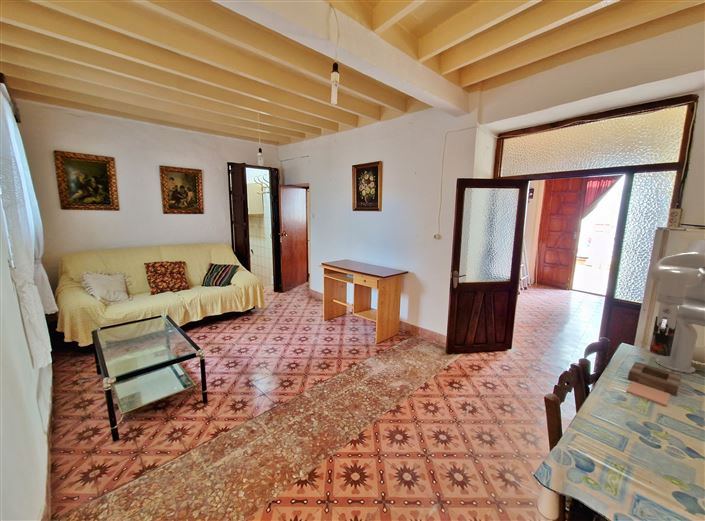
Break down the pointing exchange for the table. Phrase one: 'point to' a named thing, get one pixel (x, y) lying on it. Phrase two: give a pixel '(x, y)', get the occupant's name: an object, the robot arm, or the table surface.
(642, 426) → the table surface
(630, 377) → the holder block
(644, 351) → the table surface
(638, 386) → the tile
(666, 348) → the deodorant
